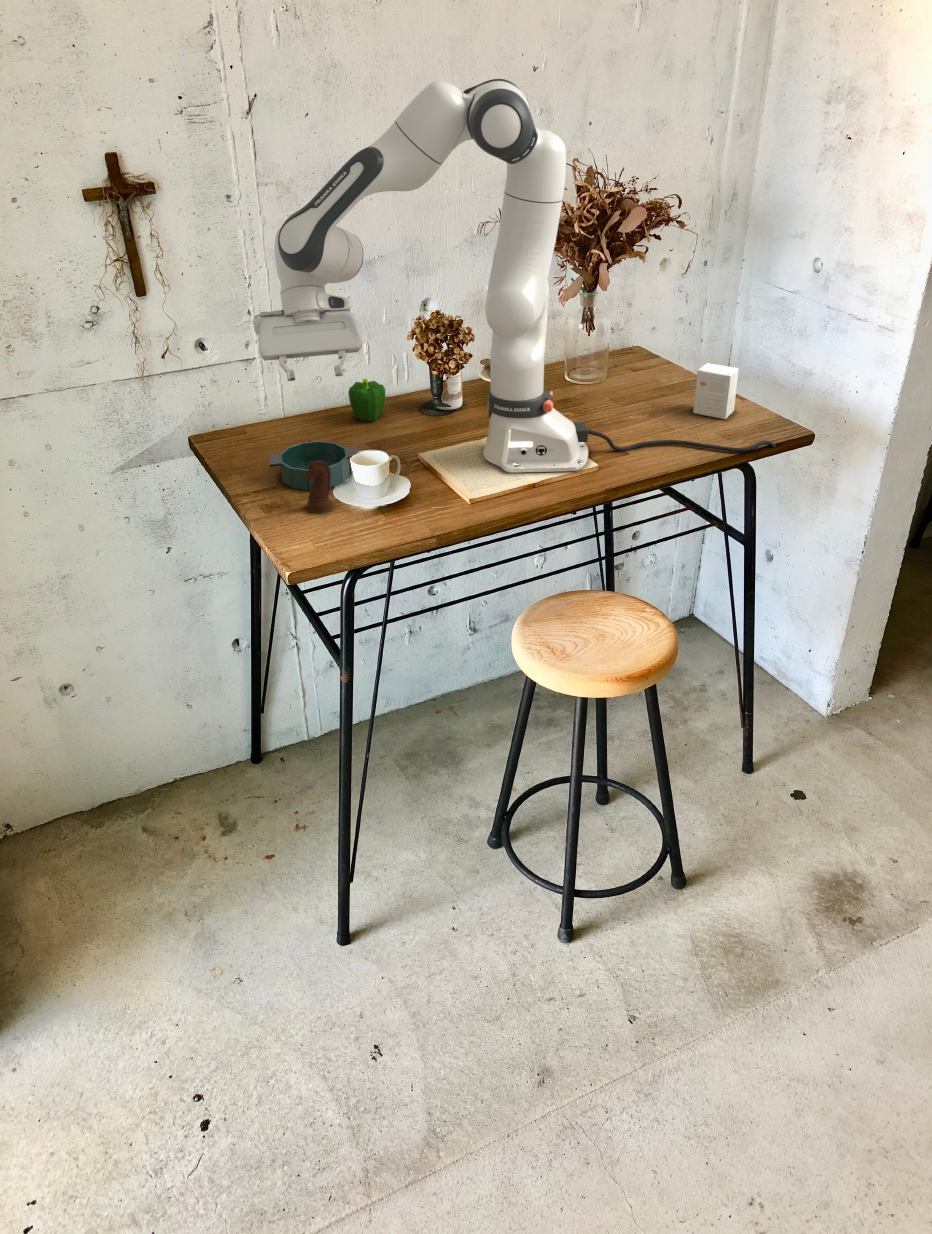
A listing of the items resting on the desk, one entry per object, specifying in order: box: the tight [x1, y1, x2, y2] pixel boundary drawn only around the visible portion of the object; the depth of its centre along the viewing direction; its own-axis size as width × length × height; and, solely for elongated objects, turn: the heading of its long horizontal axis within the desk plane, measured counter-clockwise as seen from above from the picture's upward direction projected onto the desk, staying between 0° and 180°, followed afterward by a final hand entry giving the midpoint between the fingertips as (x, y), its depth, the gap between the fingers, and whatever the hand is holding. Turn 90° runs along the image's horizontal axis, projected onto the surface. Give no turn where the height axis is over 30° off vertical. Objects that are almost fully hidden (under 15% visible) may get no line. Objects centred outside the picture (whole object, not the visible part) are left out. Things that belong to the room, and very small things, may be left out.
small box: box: [692, 362, 740, 420], centre depth 233 cm, size 8×6×10 cm
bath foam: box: [435, 370, 463, 411], centre depth 237 cm, size 7×7×20 cm
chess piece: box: [305, 461, 332, 514], centre depth 197 cm, size 5×5×10 cm
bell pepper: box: [348, 378, 386, 423], centre depth 234 cm, size 8×8×10 cm
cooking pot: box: [268, 440, 359, 491], centre depth 211 cm, size 14×18×4 cm
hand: (315, 377), depth 200 cm, fingers open, 8 cm apart
